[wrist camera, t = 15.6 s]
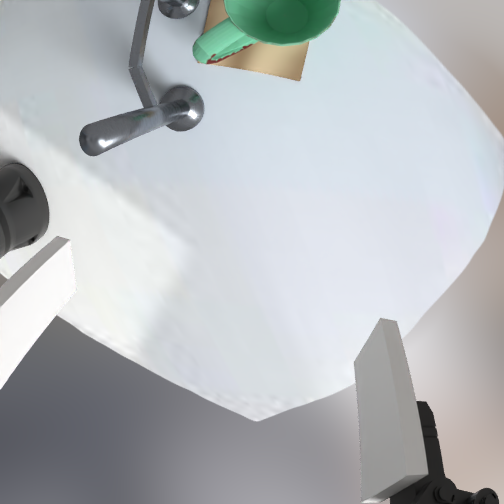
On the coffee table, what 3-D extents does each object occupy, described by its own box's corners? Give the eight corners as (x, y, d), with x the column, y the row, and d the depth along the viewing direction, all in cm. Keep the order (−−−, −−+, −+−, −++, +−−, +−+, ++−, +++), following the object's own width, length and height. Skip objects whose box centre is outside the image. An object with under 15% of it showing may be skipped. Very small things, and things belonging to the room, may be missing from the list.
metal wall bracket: (140, 124, 37) (40, 167, 21) (164, -17, 27) (71, -61, 11) (200, 133, 37) (123, 183, 21) (230, -14, 27) (169, -79, 11)
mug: (296, -34, 25) (292, -68, 16) (348, 28, 28) (364, 11, 19) (193, 33, 31) (158, 21, 22) (242, 94, 34) (222, 99, 25)
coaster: (198, 62, 33) (197, 62, 32) (218, -26, 26) (217, -27, 26) (299, 81, 32) (299, 81, 32) (321, -10, 26) (321, -11, 26)
